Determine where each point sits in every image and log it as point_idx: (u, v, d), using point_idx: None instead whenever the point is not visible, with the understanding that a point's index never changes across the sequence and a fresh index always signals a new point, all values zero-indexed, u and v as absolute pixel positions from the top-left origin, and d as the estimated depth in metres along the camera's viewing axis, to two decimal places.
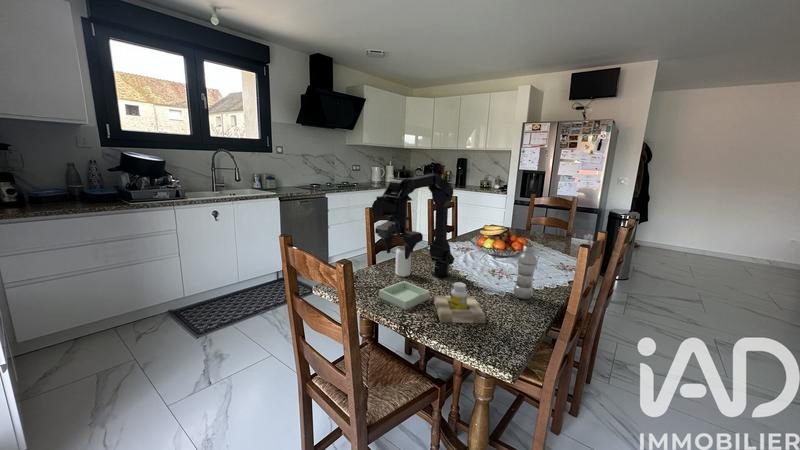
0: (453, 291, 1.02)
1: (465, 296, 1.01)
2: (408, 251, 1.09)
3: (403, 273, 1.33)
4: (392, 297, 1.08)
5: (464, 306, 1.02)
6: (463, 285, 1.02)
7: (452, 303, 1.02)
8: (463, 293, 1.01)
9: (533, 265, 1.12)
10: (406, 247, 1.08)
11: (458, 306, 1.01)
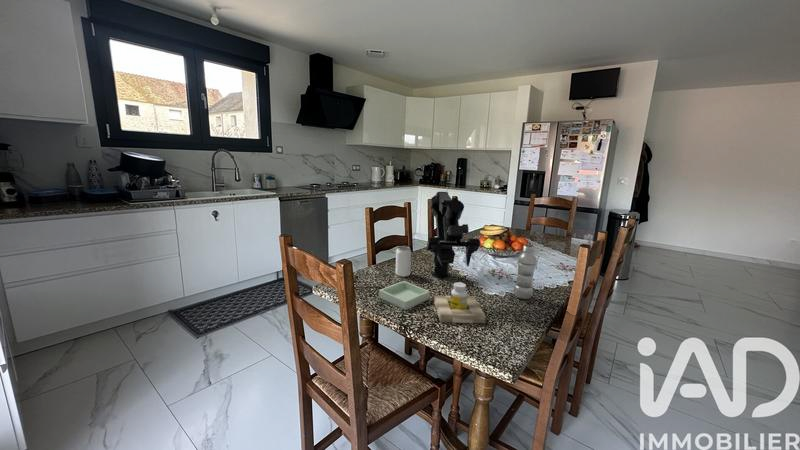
0: (453, 291, 1.02)
1: (465, 296, 1.01)
2: (470, 256, 1.11)
3: (403, 273, 1.33)
4: (392, 297, 1.08)
5: (464, 306, 1.02)
6: (463, 285, 1.02)
7: (452, 303, 1.02)
8: (463, 293, 1.01)
9: (533, 265, 1.12)
10: (470, 251, 1.11)
11: (458, 306, 1.01)
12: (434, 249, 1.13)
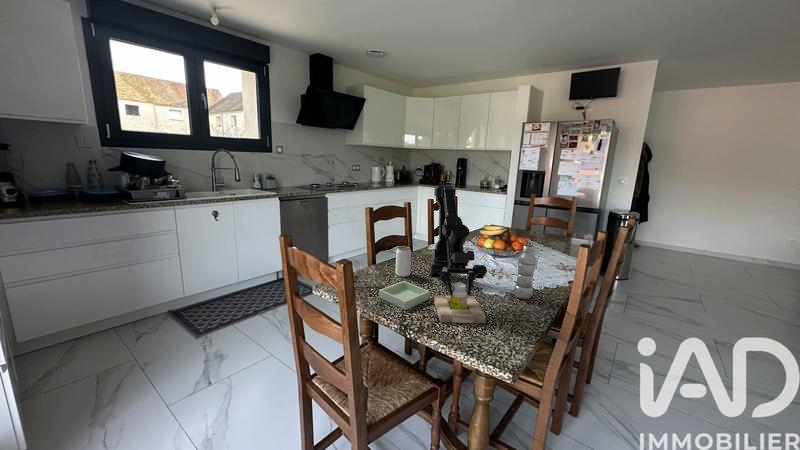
0: (453, 291, 1.02)
1: (465, 296, 1.01)
2: None
3: (403, 273, 1.33)
4: (392, 297, 1.08)
5: (464, 306, 1.02)
6: (463, 285, 1.02)
7: (452, 303, 1.02)
8: (463, 293, 1.01)
9: (533, 265, 1.12)
10: (471, 280, 1.03)
11: (458, 306, 1.01)
12: (442, 277, 1.06)
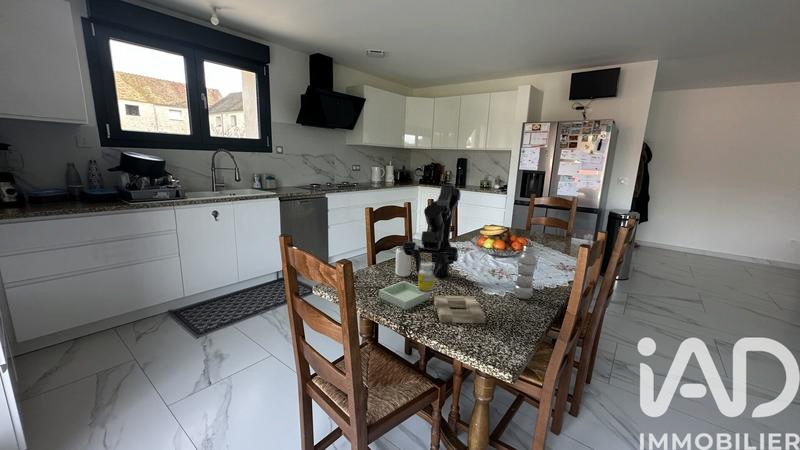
0: (420, 269, 1.06)
1: (429, 275, 1.03)
2: (438, 265, 1.04)
3: (403, 273, 1.33)
4: (392, 297, 1.08)
5: (428, 284, 1.04)
6: (429, 264, 1.04)
7: (418, 280, 1.06)
8: (427, 272, 1.03)
9: (533, 265, 1.12)
10: (439, 260, 1.04)
11: (422, 284, 1.04)
12: None
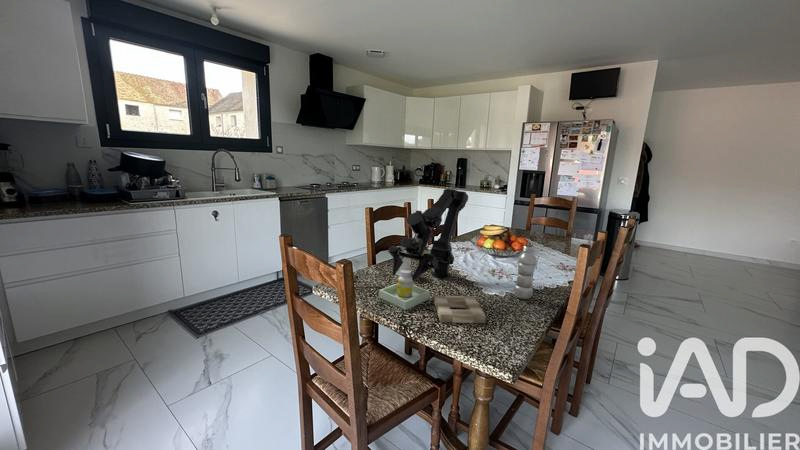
0: (400, 275, 1.12)
1: (406, 282, 1.09)
2: (418, 271, 1.08)
3: None
4: (392, 297, 1.08)
5: (404, 290, 1.10)
6: (407, 272, 1.10)
7: None
8: (404, 278, 1.10)
9: (533, 265, 1.12)
10: (419, 266, 1.08)
11: (399, 289, 1.11)
12: None
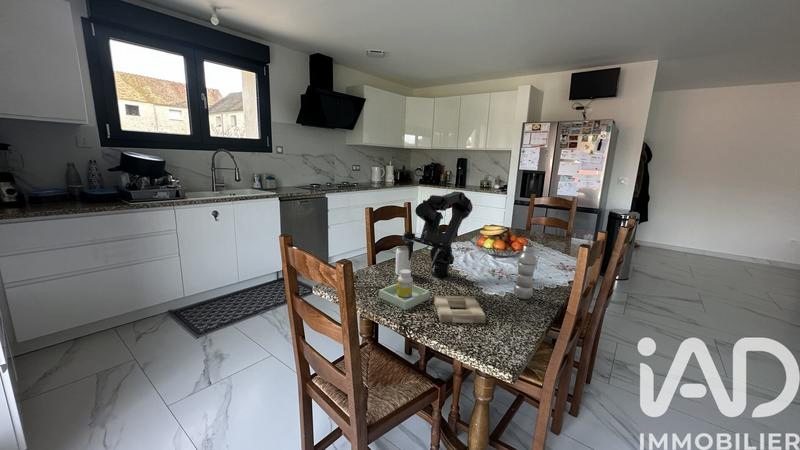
0: (399, 276, 1.12)
1: (405, 282, 1.09)
2: None
3: None
4: (392, 297, 1.08)
5: (404, 291, 1.10)
6: (407, 272, 1.10)
7: None
8: (404, 279, 1.09)
9: (533, 265, 1.12)
10: (438, 256, 1.19)
11: (399, 290, 1.11)
12: (408, 242, 1.21)
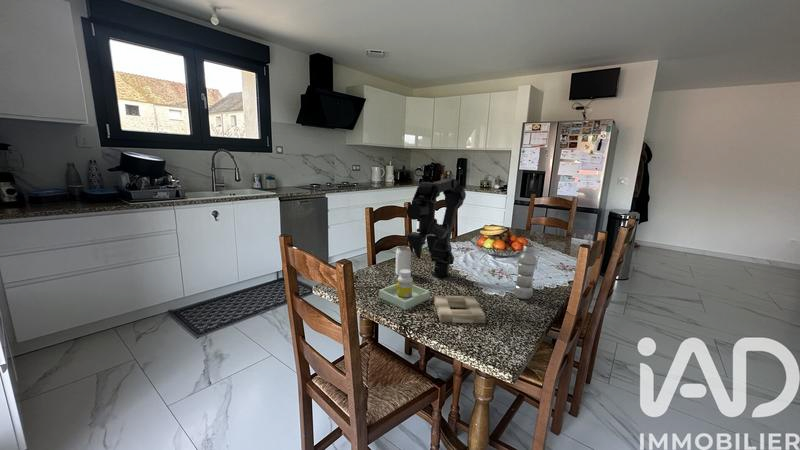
0: (399, 276, 1.12)
1: (405, 282, 1.09)
2: None
3: None
4: (392, 297, 1.08)
5: (404, 291, 1.10)
6: (406, 272, 1.10)
7: None
8: (404, 279, 1.09)
9: (533, 265, 1.12)
10: (435, 241, 1.24)
11: (399, 290, 1.11)
12: None
